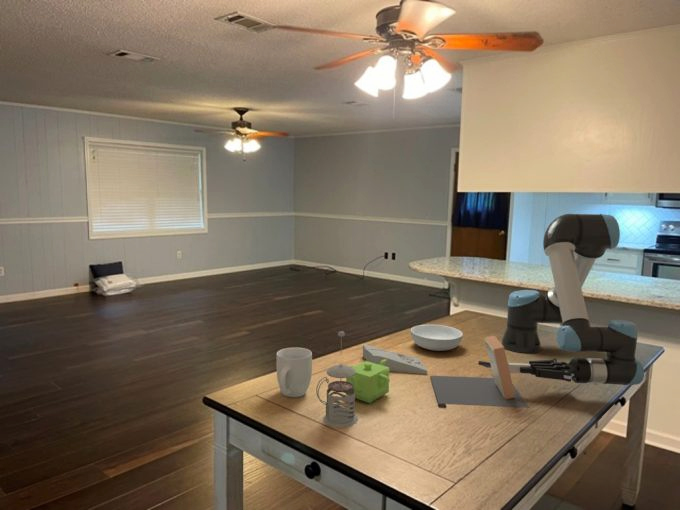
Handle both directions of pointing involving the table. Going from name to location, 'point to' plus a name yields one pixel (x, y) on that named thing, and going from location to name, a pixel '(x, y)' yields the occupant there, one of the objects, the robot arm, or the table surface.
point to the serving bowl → (436, 337)
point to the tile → (499, 367)
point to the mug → (294, 371)
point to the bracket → (485, 364)
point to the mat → (472, 392)
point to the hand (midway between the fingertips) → (508, 368)
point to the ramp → (394, 360)
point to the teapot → (370, 381)
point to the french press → (335, 412)
